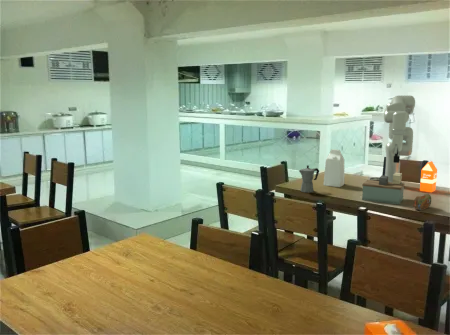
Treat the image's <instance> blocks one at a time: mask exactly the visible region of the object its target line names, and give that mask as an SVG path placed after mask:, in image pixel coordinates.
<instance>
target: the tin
mask: <svg viewBox="0 0 450 335" xmlns="http://www.w3.org/2000/svg"><path fill="white" fill-rule="evenodd" d="M431 204H432V196H431V194H429V193H422V194H420V195H417V196H415V198H414V202H413V208H414V209H415V210H417V211H423V210H426V209H429V207H431Z"/></svg>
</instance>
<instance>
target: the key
mask: <svg viewBox="0 0 450 335" xmlns="http://www.w3.org/2000/svg"><path fill="white" fill-rule="evenodd" d="M402 178H403V173H402V172H401V173H395V174H394V175H393V184H400V183H401V182H402Z"/></svg>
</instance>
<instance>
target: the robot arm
mask: <svg viewBox="0 0 450 335" xmlns="http://www.w3.org/2000/svg"><path fill="white" fill-rule="evenodd" d="M415 107H416V98H415V97H414V96H413V95H395V96H393V97H392V98H391V101H390V102H388V103H387V104H386V106H385V109H384V112H383V121H384V122H385V123H386V124H389V125H388V138H389V140H391V141H389V142H387V143H386V144H385V171H384V172H385V173H384V176H388V182H393V175H394V174H395V173H400V171H401V157H409V156H411V155H412V153H413V146H414V145H413V142H414V129H413V128H412V127H410V126H407V122H408V121H409V120H410V115H411V114H413V113H414V110H415Z"/></svg>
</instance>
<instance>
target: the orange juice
mask: <svg viewBox="0 0 450 335" xmlns="http://www.w3.org/2000/svg"><path fill="white" fill-rule="evenodd" d="M437 177H438V169H437V167H436V166H435V164H434V162H433V161H428V162H427V163H426V164H425V165H424V166H423V167H422V169H421V172H420V184H419V191H420V192H426V193H433V192H435V191H436V188H437Z"/></svg>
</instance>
